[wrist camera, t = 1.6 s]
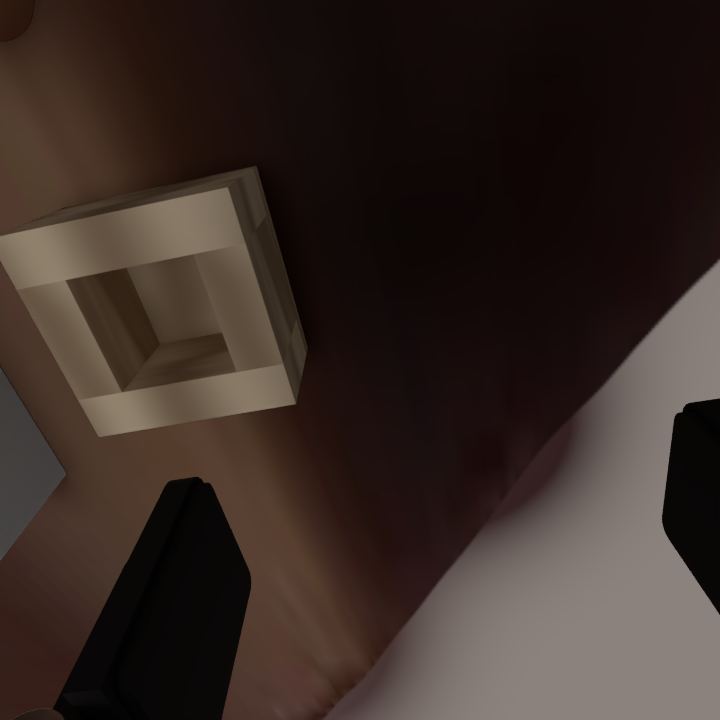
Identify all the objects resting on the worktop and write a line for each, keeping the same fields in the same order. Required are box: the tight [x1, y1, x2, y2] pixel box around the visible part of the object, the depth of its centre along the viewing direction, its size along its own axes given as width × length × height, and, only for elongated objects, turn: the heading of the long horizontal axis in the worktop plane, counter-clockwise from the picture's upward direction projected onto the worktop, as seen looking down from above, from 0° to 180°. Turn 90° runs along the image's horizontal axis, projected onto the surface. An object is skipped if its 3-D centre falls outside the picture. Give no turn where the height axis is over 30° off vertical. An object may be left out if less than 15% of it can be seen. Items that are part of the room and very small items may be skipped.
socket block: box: [0, 166, 308, 437], centre depth 25 cm, size 10×10×6 cm
